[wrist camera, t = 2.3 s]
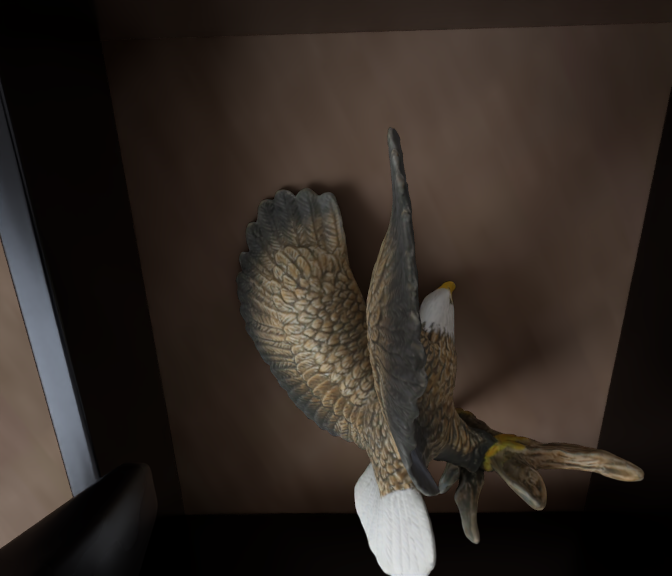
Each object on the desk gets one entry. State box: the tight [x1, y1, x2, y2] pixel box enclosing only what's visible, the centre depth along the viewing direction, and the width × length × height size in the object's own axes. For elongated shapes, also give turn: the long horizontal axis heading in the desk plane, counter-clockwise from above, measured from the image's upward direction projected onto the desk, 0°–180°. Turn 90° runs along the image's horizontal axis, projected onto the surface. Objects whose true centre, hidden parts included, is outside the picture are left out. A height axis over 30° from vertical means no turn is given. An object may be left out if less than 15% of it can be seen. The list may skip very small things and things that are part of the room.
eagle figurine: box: [236, 127, 644, 576], centre depth 11 cm, size 8×7×9 cm
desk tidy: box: [0, 0, 672, 576], centre depth 12 cm, size 16×17×4 cm
